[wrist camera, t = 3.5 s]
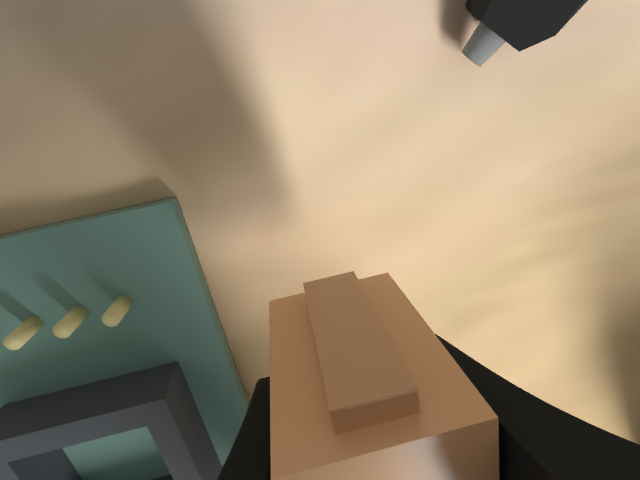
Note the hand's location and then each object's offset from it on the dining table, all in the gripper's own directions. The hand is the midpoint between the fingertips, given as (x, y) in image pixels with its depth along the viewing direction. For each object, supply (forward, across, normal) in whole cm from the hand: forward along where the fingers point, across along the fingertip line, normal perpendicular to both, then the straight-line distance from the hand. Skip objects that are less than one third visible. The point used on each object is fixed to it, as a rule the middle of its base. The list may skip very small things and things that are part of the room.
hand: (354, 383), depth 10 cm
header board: (+8, +12, +4) cm, 15 cm away
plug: (+2, 0, 0) cm, 2 cm away
